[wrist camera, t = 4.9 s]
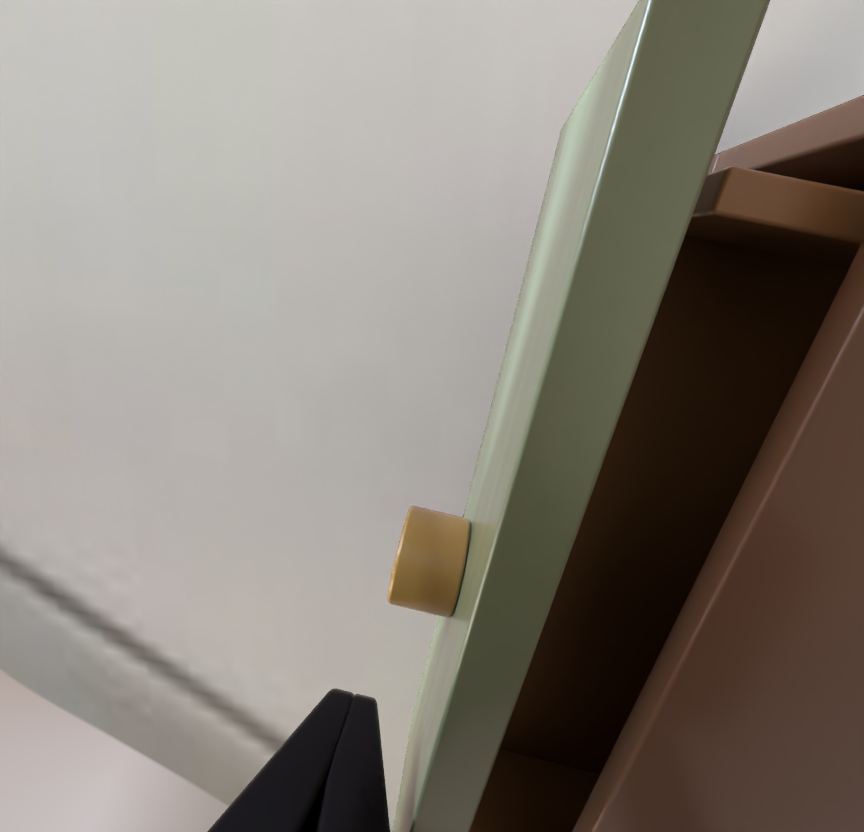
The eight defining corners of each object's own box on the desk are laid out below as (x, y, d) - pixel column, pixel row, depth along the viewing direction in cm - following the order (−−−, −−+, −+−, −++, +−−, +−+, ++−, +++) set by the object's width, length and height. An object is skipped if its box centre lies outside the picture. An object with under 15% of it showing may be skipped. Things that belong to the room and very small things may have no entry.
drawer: (1250, 259, 7) (2482, 285, 3) (810, 821, 11) (992, 1152, 7) (496, 113, 7) (501, -66, 3) (372, 710, 12) (308, 960, 8)
